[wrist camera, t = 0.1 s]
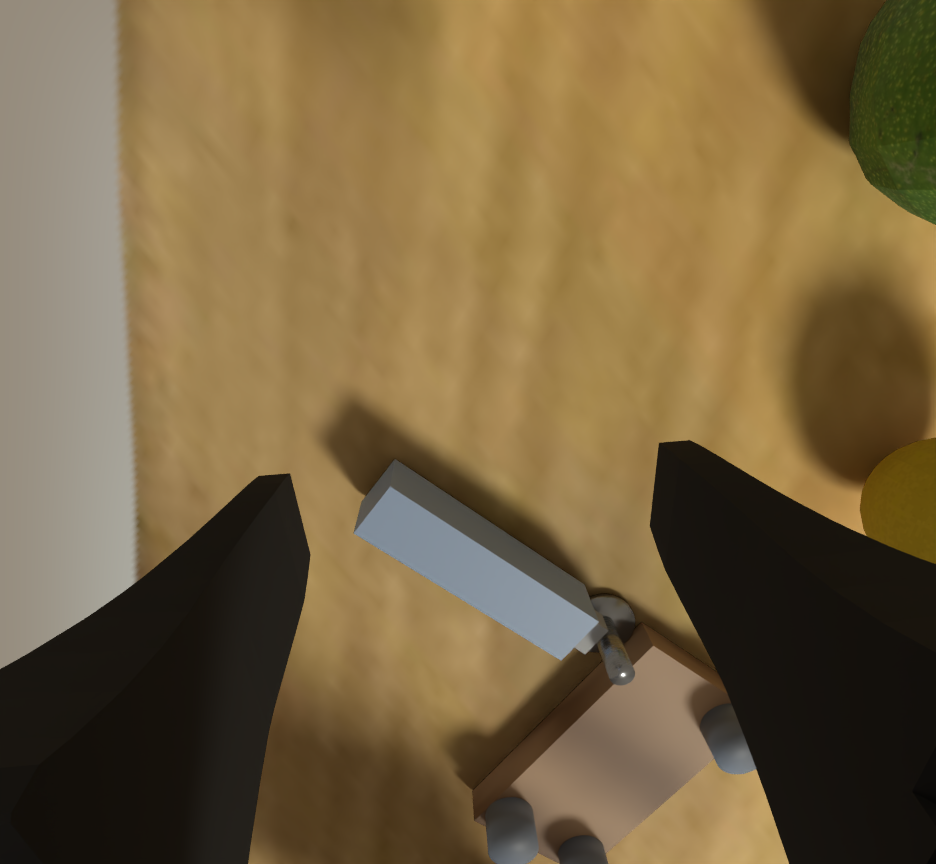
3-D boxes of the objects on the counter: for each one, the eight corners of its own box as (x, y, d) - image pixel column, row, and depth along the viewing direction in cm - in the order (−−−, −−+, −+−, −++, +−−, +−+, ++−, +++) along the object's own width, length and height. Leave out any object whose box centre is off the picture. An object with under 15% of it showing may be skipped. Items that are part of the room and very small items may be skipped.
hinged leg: (603, 597, 25) (620, 635, 23) (569, 632, 26) (582, 673, 23) (394, 459, 23) (390, 486, 20) (361, 501, 23) (353, 533, 21)
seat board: (575, 844, 31) (589, 910, 28) (472, 790, 29) (476, 855, 26) (745, 691, 28) (781, 747, 25) (641, 622, 26) (667, 674, 23)
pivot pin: (603, 657, 27) (624, 715, 24) (554, 627, 26) (570, 682, 23) (646, 614, 26) (673, 668, 23) (598, 582, 25) (619, 632, 22)
